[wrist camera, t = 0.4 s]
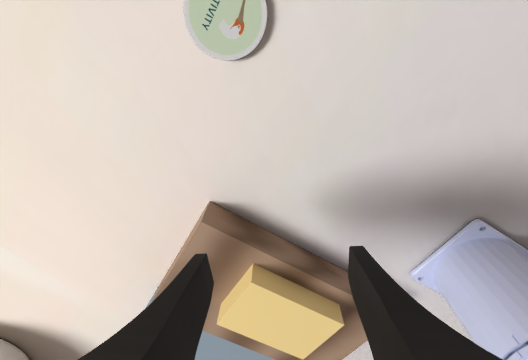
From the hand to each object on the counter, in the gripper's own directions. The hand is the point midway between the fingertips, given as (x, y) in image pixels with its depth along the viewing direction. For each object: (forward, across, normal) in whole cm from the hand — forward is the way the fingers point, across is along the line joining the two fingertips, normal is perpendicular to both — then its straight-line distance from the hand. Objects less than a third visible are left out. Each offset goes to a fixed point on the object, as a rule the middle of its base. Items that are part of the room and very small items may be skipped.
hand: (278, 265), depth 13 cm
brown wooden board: (+10, +2, +12) cm, 16 cm away
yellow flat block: (+7, +1, +11) cm, 13 cm away
